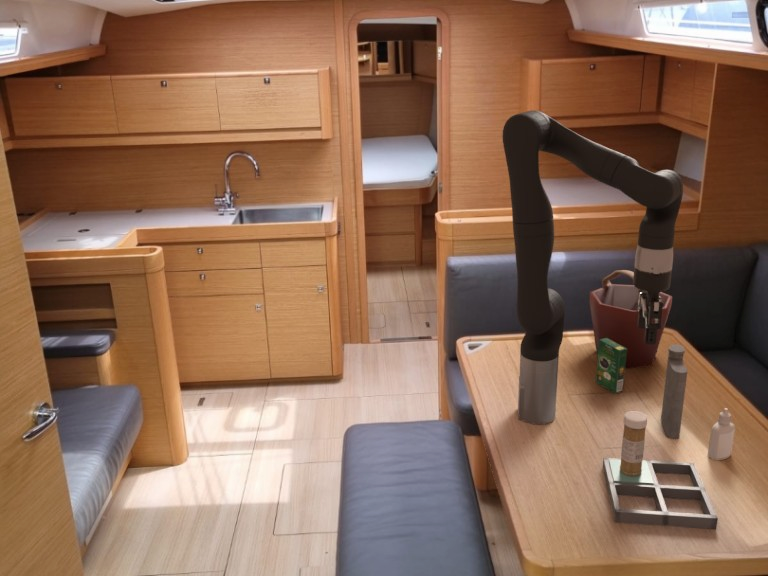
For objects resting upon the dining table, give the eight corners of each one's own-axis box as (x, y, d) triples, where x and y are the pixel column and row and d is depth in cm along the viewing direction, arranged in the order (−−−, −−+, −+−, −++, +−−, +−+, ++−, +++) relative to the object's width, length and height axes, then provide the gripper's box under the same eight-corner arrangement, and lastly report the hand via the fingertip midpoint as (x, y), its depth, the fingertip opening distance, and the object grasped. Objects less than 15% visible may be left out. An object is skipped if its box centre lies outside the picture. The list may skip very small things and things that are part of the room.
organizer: (614, 522, 144) (615, 510, 143) (602, 467, 161) (603, 456, 160) (716, 529, 141) (718, 517, 140) (692, 472, 159) (693, 461, 158)
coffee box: (624, 392, 193) (628, 347, 189) (615, 395, 192) (619, 350, 188) (603, 380, 200) (606, 336, 196) (594, 382, 199) (598, 339, 194)
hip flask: (679, 440, 171) (689, 363, 164) (661, 437, 172) (670, 361, 165) (676, 407, 185) (684, 335, 178) (659, 405, 186) (667, 334, 179)
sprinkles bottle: (634, 463, 158) (640, 408, 153) (645, 475, 153) (651, 419, 149) (615, 466, 157) (620, 411, 152) (626, 478, 153) (631, 422, 148)
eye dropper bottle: (735, 460, 162) (743, 413, 158) (710, 461, 162) (717, 414, 158) (727, 450, 166) (734, 403, 162) (702, 450, 166) (709, 404, 162)
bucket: (580, 339, 226) (585, 263, 218) (652, 338, 225) (660, 261, 217) (600, 374, 203) (606, 291, 195) (680, 373, 202) (690, 289, 194)
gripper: (629, 255, 161) (623, 322, 167) (640, 276, 148) (633, 348, 153) (664, 255, 160) (657, 323, 165) (679, 277, 147) (671, 350, 152)
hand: (646, 335), depth 159 cm, fingers open, 8 cm apart
